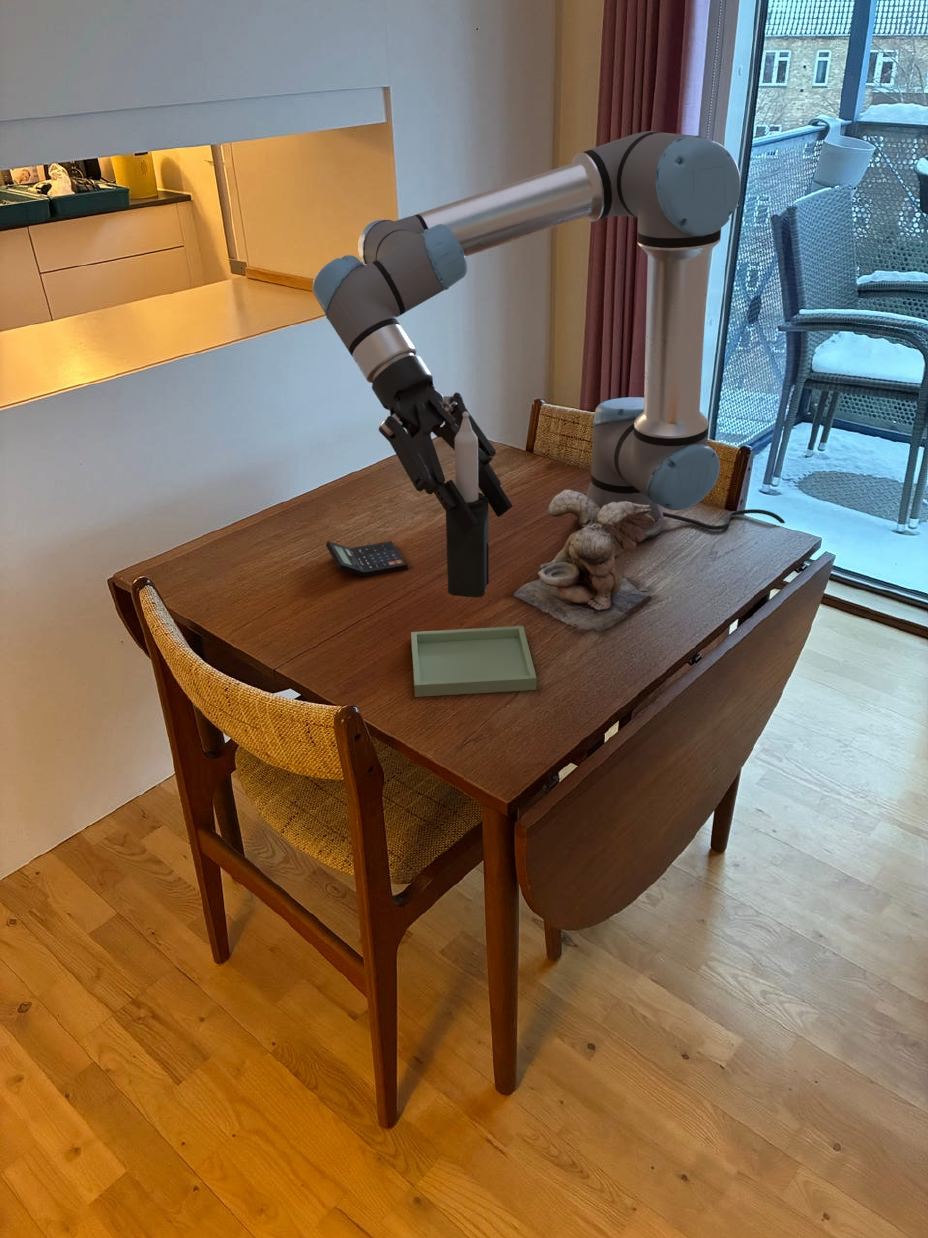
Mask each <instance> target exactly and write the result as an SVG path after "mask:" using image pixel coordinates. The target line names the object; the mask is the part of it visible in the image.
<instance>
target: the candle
mask: <svg viewBox="0 0 928 1238" xmlns="http://www.w3.org/2000/svg"><path fill="white" fill-rule="evenodd" d="M468 412H469V411H468ZM468 412H464V413H463V414H462V416H463V420H462V424H461V427H460V430H459V432H458V433H457V435H456V436H455V451H454V473H455V474H454V476H455V479H454V480H455V482H454V483H455V486H456V487H457V489H458V490H459V492H460V494H461V495H462V497H463V498H464V500H465V502H466V503H467V505H468V506H469V508H470V510H471V511H472V513H473V514H474V516H475V518H476V519H477V521H478V522H479V523H478V524H477V525H476V526H475V527H473V528H472V529H471V530H470V531H469V532H467V533H465V534H463V532H462V530H461V529H460V527H459V526H458V524H457V522H456V521H455V519H454V518H453V516H452V514H451V513H450V511H448V512H447V511H446V510H445V533H446V534H445V537H446V569H447V570H446V573H447V574H446V575H447V593H448V594H449V595H450V596H455V597H465V598H482V597H484V596H485V595H486V589H487V586H488V585H490V584H489V583H490V580H489V579H490V564H489V563H490V547H489V545H490V544H489V543H490V542H489V541H490V539H489V538H490V537H489V530H490V529H489V528H490V527H489V521H490V520H489V515H490V514H489V511H490V510H489V507H490V506H489V505H490V504H489V500H488V498H487V497H486V496H484V494H483V493H482V492H480V491H479V486H478V437H477V436H476V434H475V433H474V431H473V430H472V427H471V424H470V421H469V418H468V417H469V413H470V412H469V413H468Z"/></svg>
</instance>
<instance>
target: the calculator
mask: <svg viewBox="0 0 928 1238" xmlns="http://www.w3.org/2000/svg"><path fill="white" fill-rule="evenodd" d="M325 547H326V548H327V550H328V552H329V553H330V556H331V557H332V560H333V561H334V563H335V564H336V566H337V568H338V570H340V571H343V572H347V573H351V574H354V575H357V576H360V577H364V578H366V577H373V576H377V575H383V574H388V573H394V572H398V571H403V570H404V571H405V570H408V569H409V568H408V563H407V562H406V560H405V558H404V557H403V556H402V554H401V553H400V551H399V550H398V548H397V547H396V546H395V544H394V542H392V541H391V540H390V541H385V542H379V543H374V544H373V543H371V544H368V545H362V546H355V547H351V548H350V547H347V546H344V545H341V544H338V543H335V542H332V541H329V540H327V541H326V544H325Z"/></svg>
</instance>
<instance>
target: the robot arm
mask: <svg viewBox="0 0 928 1238" xmlns="http://www.w3.org/2000/svg"><path fill="white" fill-rule="evenodd" d="M740 175H741V174H740V170H739V166H738V164H737V162H736V160H735V157H734V156H733V155H732V154H731V153H730V151H729V150H728V149H727V148H726V147H725V146H724V145H723V144H720V143H719V142H717V141H714V140H711V139H708V138H706V137H703V136H701V135H693V134H692V135H691V134H683V133H671V132H664V131H659V130H648V131H642V132H637V133H633V134H630V135H628V136H625V137H622V138H618V139H616V140H613V141H610V142H607V143H604V144H602V145H598V146H596V147H593V148H591V149H588V150H585V151H584V150H583V151H582V152H579V153H576V154H575V155H574V157H573V159H572V161H571V163H569V164H567V165H566V164H565V165H563V166H560V167H556V168H553V169H550V170H548V171H544V172H541V173H538V174H536V175H532V176H529V177H526V178H523V179H520V180H517V181H514V182H511V183H508V184H505V185H501V186H499V187H496V188H492V189H490V190H486V191H484V192H483V191H482V192H480V193H478V194H474V195H471V196H468V197H466V198H462V199H459V200H455V201H452V202H450V203H447V204H443V205H440V206H437V207H435V208H431V209H427V210H425V211H421V212H419V213H417V214H414V215H410V216H405V217H403V218H400V219H397V220H391V219H378V220H374V221H372V222H370V223H369V224H367V225H366V226H364V228H363V229H362V231H361V233H360V235H359V238H358V242H357V251H358V257H359V258H360V259H359V258H358V257H357V256H355V255H351V254H347V255H343V256H342V257H337V258H334V259H332V260H331V261H329V262H328V263H326V264H325V265H324V266H323V267H321V269H320V270H319V271H318V272H317V274H316V275H315V277H314V279H313V282H312V293H313V295H314V297H315V298H316V300H317V302H318V304H319V305H320V307H321V309H322V311H323V313H324V315H325V318H326V319H327V321H328V322H329V323H330V324H331V326H332V328H333V330H334V331H335V332H336V334H337V336H338V337H339V338H340V340H341V342H342V343H343V345H344V346H345V348H346V349H347V351H348V353H349V354H350V356H351V357H352V359H353V361H354V362H355V364H356V365H357V367H358V369H359V370H360V372H361V373H362V375H363V376H364V378H365V380H366V381H367V382H368V383H370V384H371V390H372V391H373V393H374V394H375V396H376V397H377V399H378V401H379V402H380V404H381V406H382V407H383V409H385V410H387V411H389V415H388V416H387V417H386V418H385V419H384V420H383V421H382V423H381V424H380V425H379V427H378V432H379V433H380V434H381V435H382V436H383V437H384V438H385V439H386V440H387V441H388V442H389V444H390V446H391V447H392V449H393V451H394V453H395V454H396V456H397V458H398V460H399V461H400V463H401V465H402V467H403V469H404V471H405V472H406V474H407V476H408V478H409V479H410V481H411V482H412V485H413V486H414V488H415V490H416V491H417V492H420V493H421V492H423V491H425V493H426V494H428V495H432V494H434V495H435V498H436V499H437V500H438V502H439V503H440V505H441V507H442V508H443V510H445V512H446V511H447V512H448V511H450V513H451V514H452V516H453V518H454V519H455V521H456V522H457V524H458V526H459V527H460V529H461V530H462V532H463V534H465V533H467V532H469V531H470V530H471V529H472V528H473V527H475V526H476V525H477V524H478V523H479V522H478V521H477V519H476V518H475V516H474V514H473V513H472V511H471V510H470V508H469V506H468V505H467V503H466V502H465V500H464V498H463V497H462V495H461V494H460V492H459V490H458V489H457V487H456V483H455V482H454V481H453V479H450V480H447V481H446V478H445V475H444V471H443V469H442V466H441V462H440V459H439V456H438V453H437V450H436V447H435V444H434V442H433V438H432V433H433V435H435V437H436V438H441V439H442V440H443V441H444V442H445V443H446V444H447V445H448V446H449V447H450V448H451V449H452V450H453V451H454V452H455V436H456V435H457V433H458V432H459V430H460V427H461V424H462V420H463V416H462V414H463V413H464V412H468V413H469V417H468V418H469V421H470V424H471V427H472V430H473V431H474V433H475V434H476V436H477V437H478V489H479V490H480V491H481V493H482V494H483V495H484V496H486V497H487V498H488V500H489V505H490V506H489V507H491V509H492V510H493V512H494V513H495V515H496V517H497V518H500V517H502V516H503V515H504V514H506V513H507V512H508V511H509V510H510V509H512V508H513V507H514V506H513V504H512V503H511V501H510V499H509V498H508V495H506V492H505V491H504V490H503V488H502V487H501V486H502V483H501V480H500V479H499V477H498V475H497V474H496V471H494V469H493V467H492V466H491V463H490V462H492V461H493V459H494V456H495V455H496V454H497V451H496V449H495V448H494V446H493V444H492V443H491V442H490V440H489V439H488V437H487V436H486V434H485V433H484V432H483V430H482V428H481V427H480V426H479V425H478V423H477V422H476V420H475V419H474V418H473V416H472V414H471V413H470V412H469V410H468V409H467V407H466V405H465V402H464V400H463V396H462V395H461V394H460V393H459V392H454V393H453V395H450V396H447V395H446V396H444V395H443V394H442V393H441V392H440V391H438V390H437V389H436V388H435V385H434V378H433V374H432V373H431V371H430V370H429V369H428V366H427V365H426V364H425V362H424V360H423V359H422V357H421V356H420V355H418V354H417V349H416V347H415V345H414V344H413V342H412V341H411V340H410V338H409V336H408V335H407V333H406V332H405V330H404V328H403V327H402V326H401V323H399V321H398V320H397V318H399V317H400V316H402V315H403V314H405V313H407V312H409V311H411V310H413V309H414V308H416V307H418V306H419V305H421V304H423V303H424V302H426V301H428V300H429V299H431V298H434V297H435V296H437V295H438V294H441V293H442V292H443V291H447V290H449V289H450V288H451V287H452V286H453V285H455V284H457V283H458V282H459V281H461V280H462V279H463V278H465V277H466V275H467V273H468V262H467V257H470V256H473V255H475V254H478V253H482V252H483V251H487V250H490V249H493V248H496V247H499V246H502V245H505V244H508V243H511V242H514V241H518V240H520V239H523V238H526V237H529V236H532V235H536V234H538V233H542V232H544V231H548V230H550V229H553V228H556V227H559V226H562V225H565V224H568V223H571V222H574V221H577V220H580V219H583V218H584V219H586V220H587V221H589V222H597V221H599V220H603V219H606V218H611V217H612V218H613V217H633V218H636V219H637V241H636V242H637V245H638V246H639V247H640V248H641V249H642V250H643V251H644V252H645V253H646V255H647V273H646V274H647V275H646V277H647V278H646V308H645V309H646V312H645V313H646V314H645V315H646V317H645V347H644V348H645V353H644V387H643V388H644V390H643V397H639V396H638V397H636V396H634V397H633V396H631V397H618V398H612V399H608V400H605V401H603V402H601V403H599V404H598V405H597V407H596V408H595V410H594V417H593V422H592V427H593V429H592V446H591V447H592V448H591V465H590V483H589V485H588V487H586V493H585V495H586V496H587V497H588V498H589V499H591V500H592V501H594V502H595V504H596V505H597V506H598V507H599V508H600V509H601V508H602V507H603V506H604V505H607V504H609V503H612V502H616V503H617V502H624V501H628V502H631V503H635V504H640V505H650V508H651V511H650V512H648V514H649V515H650V516H652V518H653V519H654V520H655V524H654V526H653V527H652V528H649V529H644V532H645V533H646V534H647V538H645V539H643V540H642V541H643V542H644V541H646V540H649V539H652V538H655V537H656V536H658V535H659V534H660V533H661V532H662V530H663V526H664V518H670V519H673V520H678V521H681V522H685V523H689V524H693V525H696V526H699V527H701V528H704V529H708V530H715V531H717V530H718V531H719V530H724V529H726V528H727V527H728V526H729V525H730V522H731V518H732V517H733V516H739V515H746V514H758V515H759V514H761V515H766V516H768V517H771V518H773V519H775V520H776V521H777V522H779V524H786V522H785V520H784V519H783V518H782V517H781V516H779V515H778V514H777V513H774V512H772V511H770V510H765V509H760V508H758V509H756V508H752V509H748V508H747V509H740V510H734V511H731V512H728V514H727V515H726V518H725V522H724V523H723V524H720V525H713V524H708V523H705V522H702V521H699V520H696V519H692V518H689V517H685V516H681V515H677V514H673V513H669V512H666V511H665V512H664V511H663V508H664V509H666V510H670V511H682V510H686V509H689V508H692V507H694V506H696V505H697V504H699V503H700V502H702V501H703V500H704V499H705V497H706V496H707V495H708V494H709V493H711V492H712V490H713V489H714V487H715V485H716V483H717V482H718V479H719V476H720V473H721V461H720V457H719V455H718V454H717V453H716V451H715V449H714V448H712V446H709V445H708V441H709V425H710V424H709V423H710V422H709V419H708V418H707V417H706V416H705V415H704V413H702V412H701V395H702V394H701V393H702V379H703V378H702V377H703V361H704V360H703V359H704V343H705V342H704V341H705V339H704V338H705V326H706V324H705V323H706V306H707V292H708V291H707V290H708V275H709V257H710V256H709V255H710V253H711V251H712V250H713V249H714V248H715V247H716V246H717V245H718V244H719V243H720V242H721V238H722V228H723V227H725V225H727V223H728V222H729V221H730V216H731V215H732V214H734V213H735V211H736V209H737V207H738V203H739V200H740V195H741V186H742V185H741V176H740ZM577 524H578V527H579V529H580V530H581V529H582V528H583V527H582V525H581V523H580V521H579V519H578V518H577ZM642 541H641V542H642Z"/></svg>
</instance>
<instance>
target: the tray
mask: <svg viewBox="0 0 928 1238" xmlns="http://www.w3.org/2000/svg"><path fill="white" fill-rule="evenodd" d="M410 641H411V656H412V671H413V672H412V673H413V687H414V688H413V689H414V697H415V698H423V697H438V696H439V697H440V696H456V695H458V696H459V695H473V694H489V693H490V694H492V693H509V692H524V691H536V690H537V682H538V681H537V680H538V678H537V674H536V671H535V666H534V663H533V658H532V655H531V650H530V647H529V643H528V638H527V635H526V631H525V627H524V625H515V626H498V627H497V626H495V627H477V628H459V629H440V630H426V631H425V630H424V631H423V630H422V631H411V632H410Z"/></svg>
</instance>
